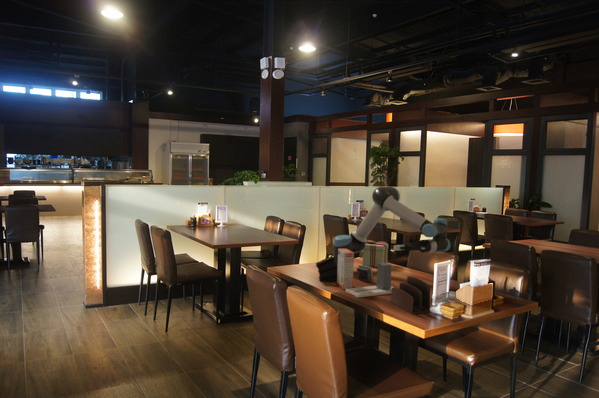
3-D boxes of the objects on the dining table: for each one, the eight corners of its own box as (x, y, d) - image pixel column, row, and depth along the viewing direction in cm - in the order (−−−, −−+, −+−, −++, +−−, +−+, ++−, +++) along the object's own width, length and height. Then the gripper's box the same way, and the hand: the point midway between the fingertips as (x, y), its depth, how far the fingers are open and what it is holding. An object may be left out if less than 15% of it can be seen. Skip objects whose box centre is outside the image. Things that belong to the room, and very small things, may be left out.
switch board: (386, 286, 249) (387, 284, 249) (400, 292, 238) (400, 289, 238) (345, 291, 237) (345, 288, 237) (357, 297, 226) (357, 294, 226)
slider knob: (384, 285, 244) (385, 262, 244) (391, 288, 239) (392, 264, 238) (375, 286, 242) (376, 263, 241) (382, 289, 236) (383, 265, 236)
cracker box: (353, 289, 241) (354, 252, 240) (342, 290, 240) (344, 252, 239) (346, 283, 255) (347, 248, 253) (336, 283, 254) (337, 248, 252)
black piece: (343, 278, 258) (333, 256, 257) (323, 288, 257) (313, 266, 255) (341, 277, 262) (332, 255, 260) (322, 286, 261) (312, 264, 259)
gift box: (388, 263, 316) (389, 239, 315) (384, 268, 299) (385, 243, 298) (365, 261, 322) (366, 238, 321) (359, 265, 305) (360, 241, 304)
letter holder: (407, 300, 223) (408, 273, 222) (430, 313, 204) (431, 283, 203) (390, 302, 220) (391, 274, 219) (411, 314, 201) (413, 284, 200)
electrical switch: (373, 281, 261) (373, 266, 260) (368, 283, 257) (368, 268, 256) (361, 278, 268) (360, 264, 267) (356, 280, 264) (355, 265, 263)
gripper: (434, 254, 247) (401, 256, 236) (419, 250, 258) (387, 252, 248) (435, 241, 246) (402, 243, 236) (419, 237, 258) (387, 239, 247)
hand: (394, 248), depth 242 cm, fingers closed
